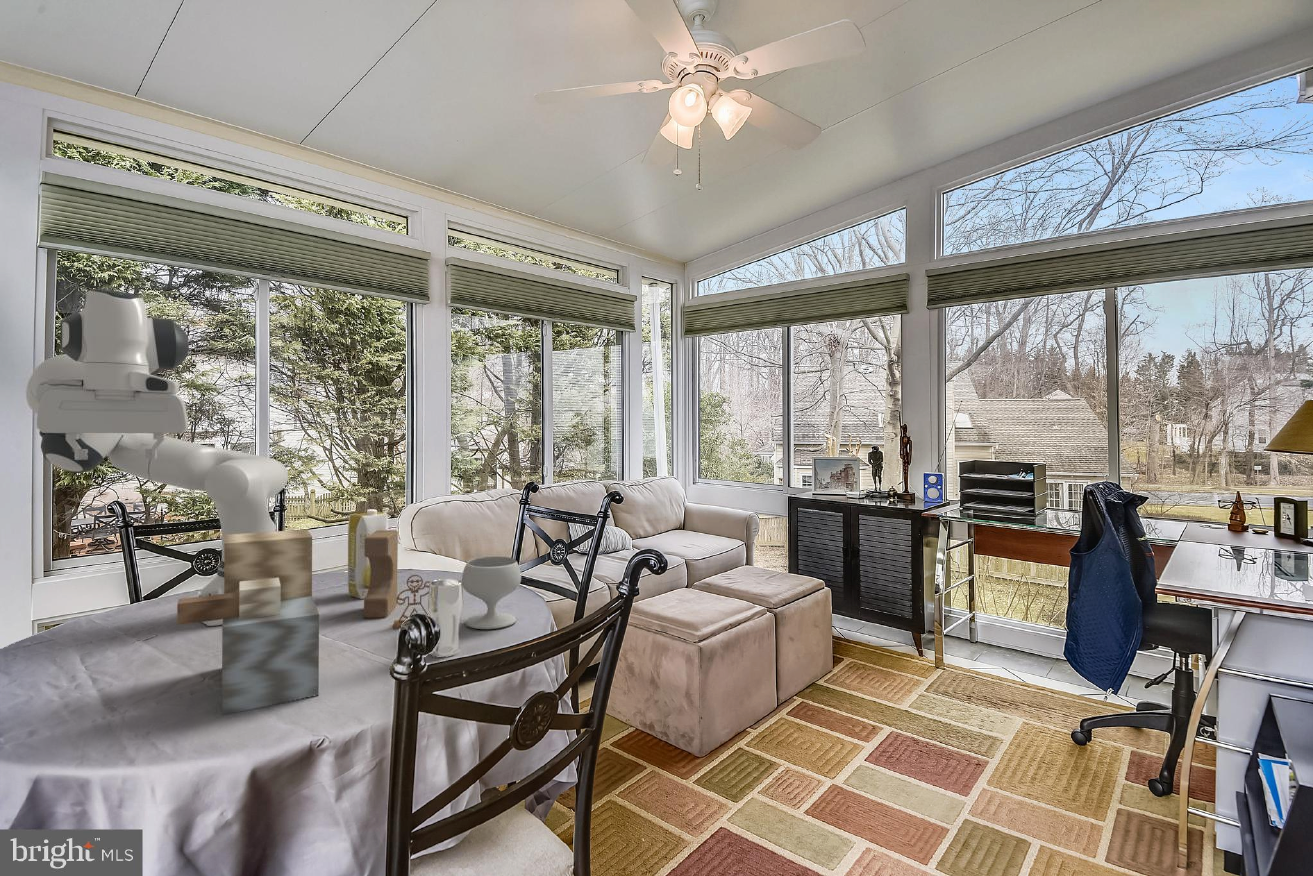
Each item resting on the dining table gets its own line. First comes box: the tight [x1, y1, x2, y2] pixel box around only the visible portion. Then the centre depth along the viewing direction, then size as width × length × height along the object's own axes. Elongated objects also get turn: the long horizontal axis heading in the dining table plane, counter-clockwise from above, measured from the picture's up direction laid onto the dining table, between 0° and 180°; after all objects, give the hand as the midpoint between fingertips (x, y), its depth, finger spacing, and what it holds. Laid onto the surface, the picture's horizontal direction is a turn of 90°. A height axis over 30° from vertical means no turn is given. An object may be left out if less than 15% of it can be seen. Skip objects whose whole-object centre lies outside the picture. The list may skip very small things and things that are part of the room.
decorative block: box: [363, 529, 399, 619], centre depth 158 cm, size 11×6×20 cm, turn 9°
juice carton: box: [347, 508, 389, 600], centre depth 173 cm, size 9×8×24 cm
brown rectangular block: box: [176, 578, 281, 626], centre depth 108 cm, size 14×7×5 cm, turn 124°
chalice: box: [461, 556, 522, 630], centre depth 151 cm, size 14×14×15 cm
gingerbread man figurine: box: [393, 574, 431, 630], centre depth 149 cm, size 9×4×12 cm, turn 115°
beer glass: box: [427, 577, 464, 658], centre depth 131 cm, size 7×7×15 cm
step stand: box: [221, 529, 320, 716], centre depth 115 cm, size 14×24×26 cm, turn 34°
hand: (116, 459), depth 111 cm, fingers open, 8 cm apart
